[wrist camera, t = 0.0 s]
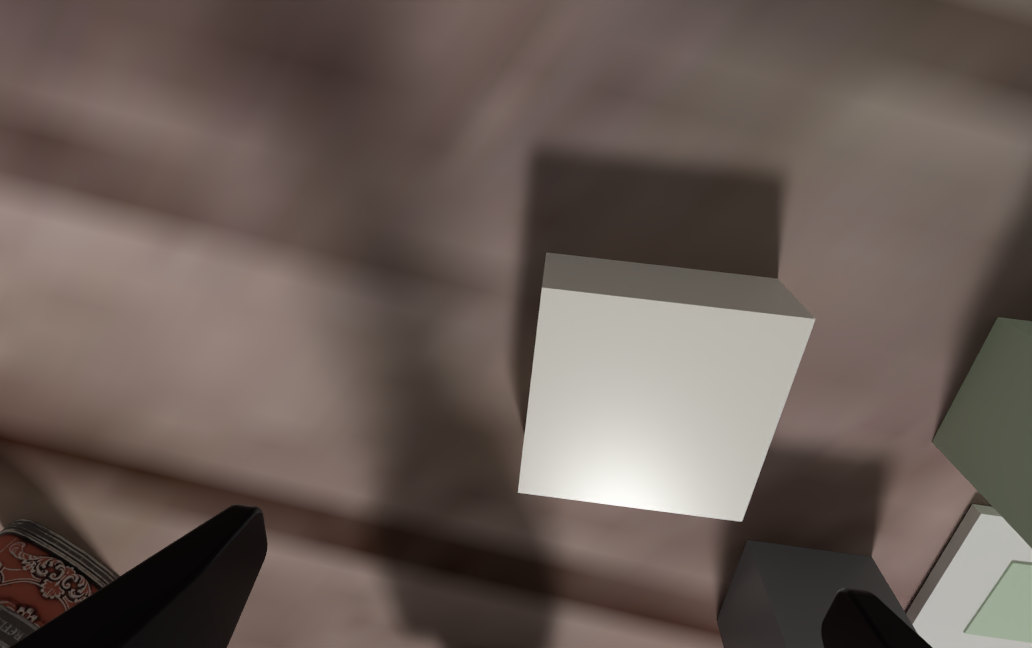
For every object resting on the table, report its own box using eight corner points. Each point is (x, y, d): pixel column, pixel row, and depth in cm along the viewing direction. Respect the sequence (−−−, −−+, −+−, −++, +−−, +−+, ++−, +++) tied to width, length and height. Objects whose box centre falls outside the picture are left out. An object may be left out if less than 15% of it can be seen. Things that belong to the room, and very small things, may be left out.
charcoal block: (829, 634, 30) (886, 762, 24) (716, 618, 30) (748, 741, 25) (870, 555, 27) (944, 678, 22) (746, 538, 27) (790, 656, 22)
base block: (718, 456, 26) (742, 522, 22) (524, 432, 26) (517, 492, 22) (774, 275, 22) (815, 319, 18) (546, 249, 22) (541, 287, 19)
